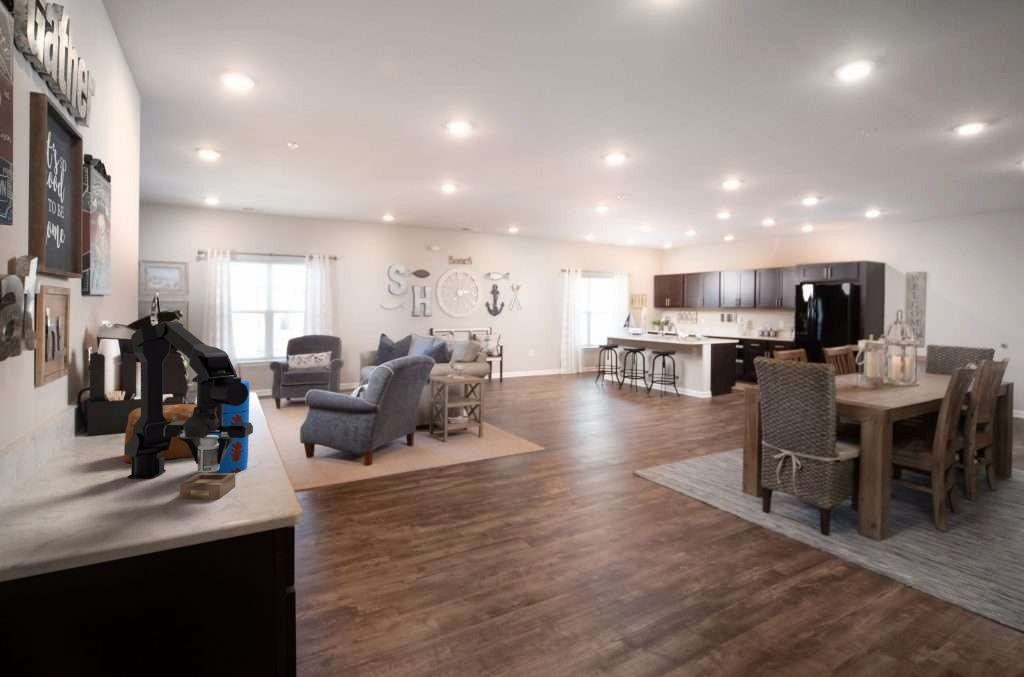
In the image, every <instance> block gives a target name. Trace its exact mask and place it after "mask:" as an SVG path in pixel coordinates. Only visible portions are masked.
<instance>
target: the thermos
mask: <svg viewBox="0 0 1024 677" xmlns="http://www.w3.org/2000/svg"><path fill="white" fill-rule="evenodd" d="M241 383H243V384H245V385H246V387H247V389H248V397H247V399H246V401H245V402H244V403H243V404H241V405H239V406H232V405H227V404H225V408H223V420H225V424H223V426H230V425H232V424H234V423H236V422H250V392H251V390H250V381H248V380H242V379H241ZM208 435H217V436H218V437H219V438H220V437H222V435H221V433H208ZM249 436H250V435H248V436H247V437H245V438H234V439H233V441H232V442H231V444H230V446H229V448H228V450H227V452H226V454H225V456H224V458H223V461H222V463H221V464H220V466H219V470H217V471H214V472H208V473H236V474H237V473H240V472H243V471H245V470H246V468H247V469H248V462H249V461H248V459H249ZM217 443H218V442H217Z"/></svg>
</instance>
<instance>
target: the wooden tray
mask: <svg viewBox="0 0 1024 677" xmlns="http://www.w3.org/2000/svg"><path fill="white" fill-rule="evenodd" d="M236 474H237V473H202V472H198V473H196V474H194V475H193V476H192V477H189V478H187V479H186V480H185V481H183V482H182V483H180V485H179V499H180V500H218V499H219V500H220V499H221V498H223V497H224V496H225V495H226V494H228V493H229V492H231V491H232V490H233V489H235V488H236V477H237V476H236Z"/></svg>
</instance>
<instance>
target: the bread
mask: <svg viewBox="0 0 1024 677" xmlns="http://www.w3.org/2000/svg"><path fill="white" fill-rule="evenodd" d="M196 406H197V403H196V404H195V403H194V404H193V403H183V404H182V403H181V404H180V403H179V404H165V405H164V404H163V416H164V417H165V418H166V419H167V421H171V423H173V422H175V421H187V420H188V419H189V418H190V417H191V416H192V415H193V410H194V407H196ZM140 416H141V407H137V408H135V409H133V410H131V412H129V414H128V420H127V421H128V422H127V425H126V428H125V436H124V446H123V447H125V445H126V444H127V442H128V441H129V439H130V438H131V437H132V435H133V427H134V425H135V424H136V422H137V421H138V419H139V418H140ZM179 438H180V434H179V435H178V436H177V437H172V438H171V442H170V446H169V450H167V451H163V457H164V460H170V459H178V458H179V459H183V458H190V457H191V458H192V457H193V455H192V452H191V450H190V448H189V446H188V445H187V443H185V442H184V441H183V440H179ZM131 458H132V456H130V455H126V454H125V448H123V461H124V462H125V463H128V464H129V463H130V464H131ZM193 458H194V457H193Z"/></svg>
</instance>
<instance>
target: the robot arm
mask: <svg viewBox="0 0 1024 677" xmlns="http://www.w3.org/2000/svg"><path fill="white" fill-rule="evenodd" d="M130 343H131V345H132V352H133V354H134V355H135V356H136V358H137V360H138V361H139V362H140V408H141V416H140V418H139V419H138V421H137V422H136V424H135V425H134V427H133V435H132V437H131V438H130V439H129V441H128V442H127V444H126V445H125V444H124V445H125V447H124V446H123V447H124V448H125V454H126V455H130V456H132V458H131V463H130V464H131V466H130V467H131V470H130V473H131V474H129V475H127V476H126V477H127V479H154V478H156V477H157V476H160V475H162V474H163V473H166V472H167V470H166V469H165V459H164V457H163V451H167V450H169V446H170V442H171V438H172V437H177V436H178V435H179V434H180V438H179V440H183V441H184V442H185V443H187V445H188V446H189V448H190V450H191V452H192V455H193V459H194V460H193V461H194V462H195V464H196V465H198V446H199V445H200V438H204V437H206V436H207V435H208V433H221V435H222V437H220V438H218V439H217V440H218V443H219V448H218V464H221V463H222V461H223V458H224V456H225V454H226V452H227V450H228V448H229V446H230V444H231V442H232V441H233V439H234V438H245V437H247V436H248V435H249V436H250V435H252V434H253V433H254V425H253V424H252V422H250V421H249V422H236V423H234V424H232V425H230V426H223V424H225V420H223V408H225V404H227V405H232V406H239V405H241V404H243V403H244V402H245V401H246V399H247V397H248V389H247V387H246V385H245V384H243V383H241V380H242V377H240V376H238V374H237V370H236V369H235V367H234V364H233V363H232V361H231V359H230V357H229V355H228V353H227V352H226V351H225V350H223V349H220V348H219V347H216V346H211V345H208V344H206V343H204V342H203V341H201V340H200V339H199V338H198V337H196V336H195V335H194V334H193V333H191V332H190V331H189V330H188V329H186V328H185V327H184V326H183V324H182V323H181V322H178V321H161V322H157V323H156V324H154V325H150V326H146V327H144V328H137V330H135V332H133V333H132V334H131V337H130ZM171 345H172V346H174V347H175V348H176V349H177V350H178V351H180V353H182V354H183V355H184V356H185V357H187V358H188V360H189V361H188V366H189V367H190V368H191V369H192V370H193V372H195V374H197V375H196V376H194V377H193V378H192V380H191V381H192V382H193V383H196V404H197V406H196V407H194V410H193V415H192V416H191V417H190V418H189V419H188V420H187V421H175V422H173V423H171V421H167V419H166V418H165V417H164V416H163V405H164V361H165V359H166V358H167V356H168V355H169V354H170V352H171ZM124 448H123V449H124Z"/></svg>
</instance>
